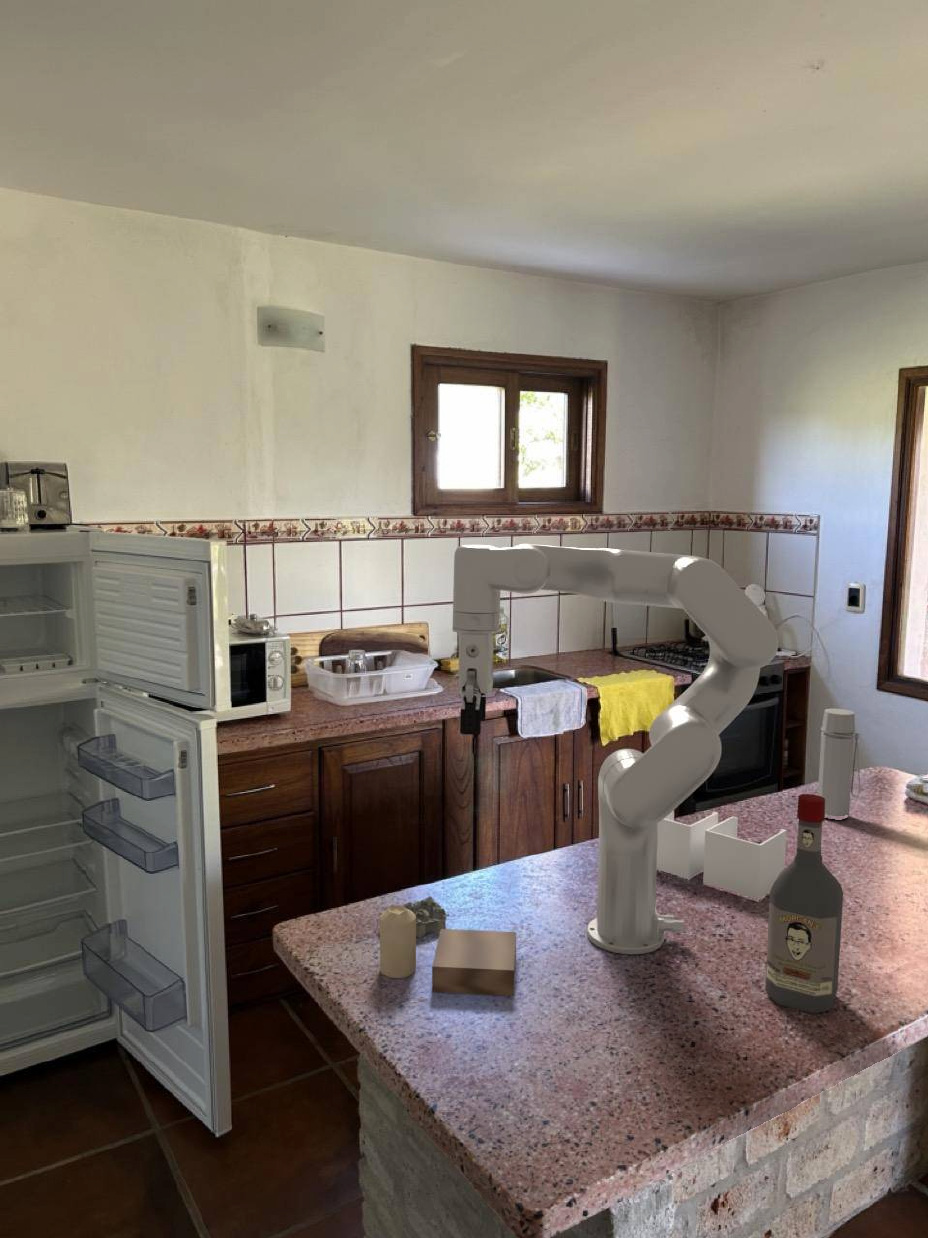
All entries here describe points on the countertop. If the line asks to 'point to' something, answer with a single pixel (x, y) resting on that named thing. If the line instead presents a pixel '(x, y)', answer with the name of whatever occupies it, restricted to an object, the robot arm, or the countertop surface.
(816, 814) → the liquor
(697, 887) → the countertop surface
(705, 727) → the robot arm
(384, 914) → the candle
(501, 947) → the plinth
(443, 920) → the egg carton
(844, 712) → the water bottle
